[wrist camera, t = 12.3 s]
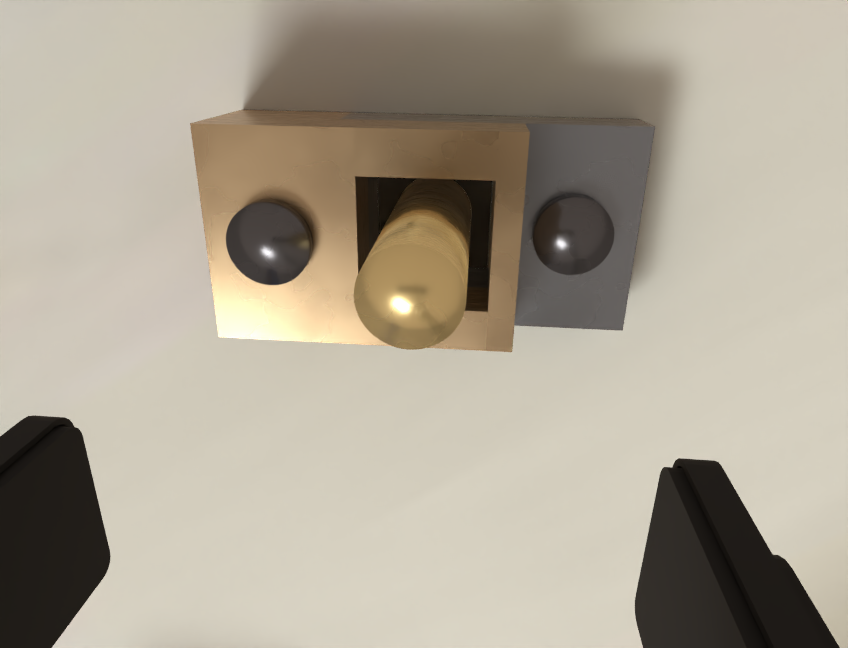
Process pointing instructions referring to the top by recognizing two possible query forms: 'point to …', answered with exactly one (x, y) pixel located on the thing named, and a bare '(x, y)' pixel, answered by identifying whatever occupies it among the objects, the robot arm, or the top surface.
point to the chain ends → (359, 222)
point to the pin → (418, 267)
